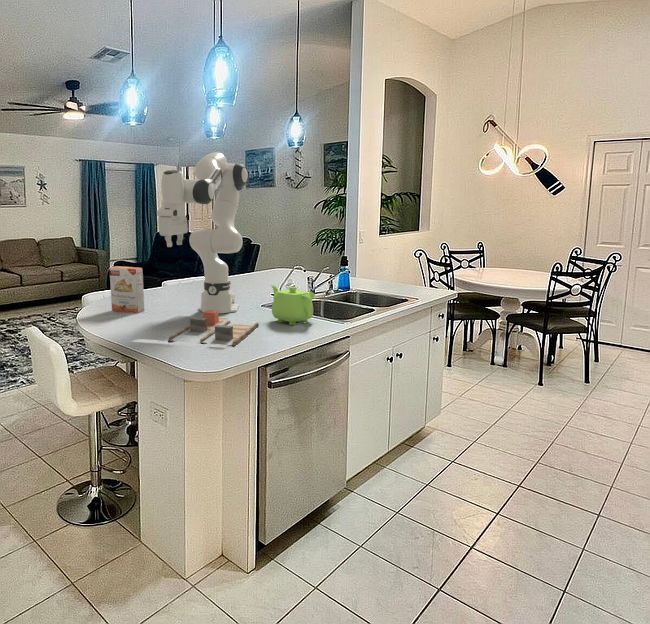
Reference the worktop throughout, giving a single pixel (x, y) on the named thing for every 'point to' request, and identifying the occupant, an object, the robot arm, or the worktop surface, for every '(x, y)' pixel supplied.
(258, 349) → the worktop surface
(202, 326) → the strip
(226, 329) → the strip
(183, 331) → the lane rails
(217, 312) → the cube
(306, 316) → the teapot
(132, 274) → the cracker box
